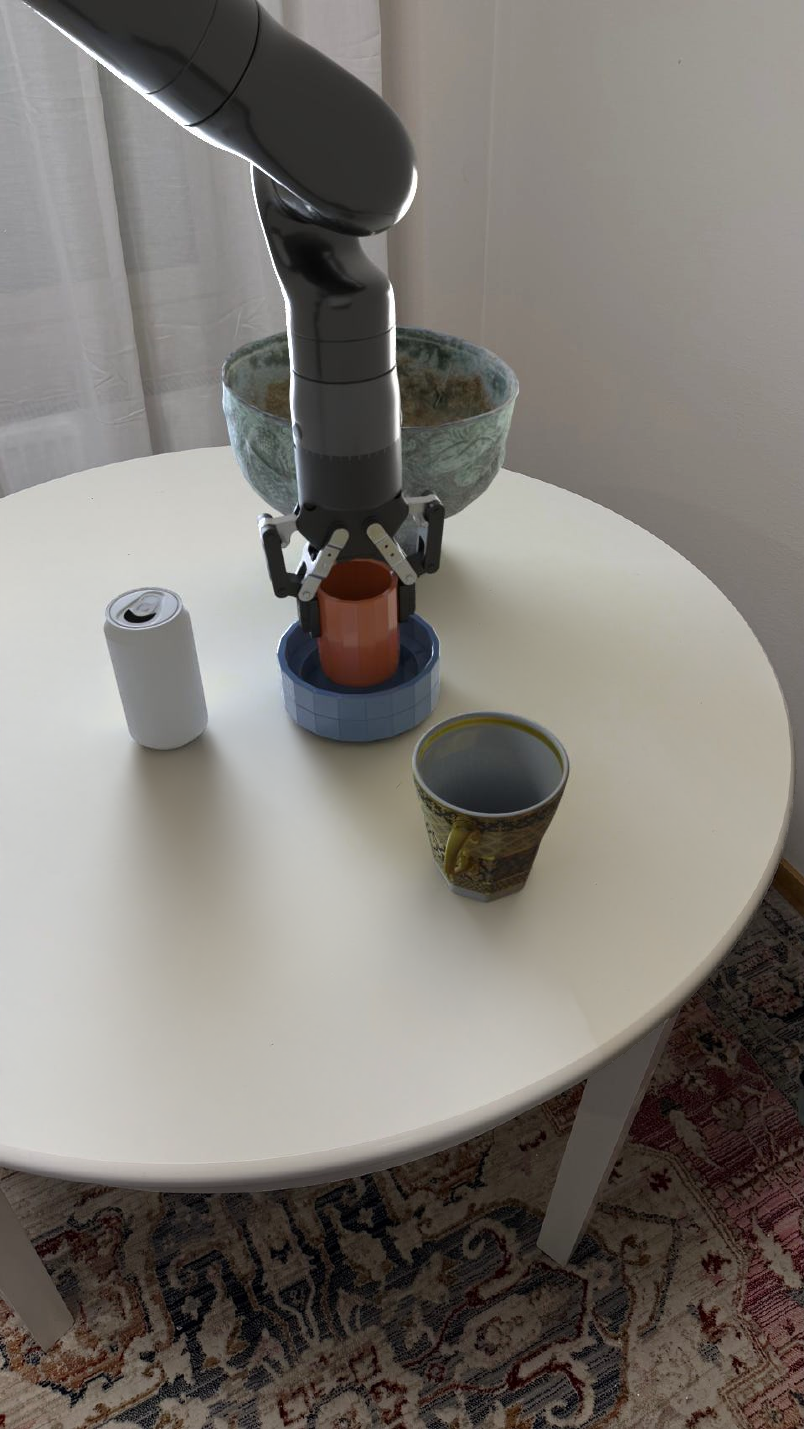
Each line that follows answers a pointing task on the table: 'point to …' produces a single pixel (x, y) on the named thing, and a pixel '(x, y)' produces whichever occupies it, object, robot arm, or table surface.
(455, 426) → the decorative bowl
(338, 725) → the bowl
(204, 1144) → the table surface
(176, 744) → the beverage can
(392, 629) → the cup
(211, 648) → the table surface
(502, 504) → the table surface
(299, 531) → the robot arm
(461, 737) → the ceramic cup
